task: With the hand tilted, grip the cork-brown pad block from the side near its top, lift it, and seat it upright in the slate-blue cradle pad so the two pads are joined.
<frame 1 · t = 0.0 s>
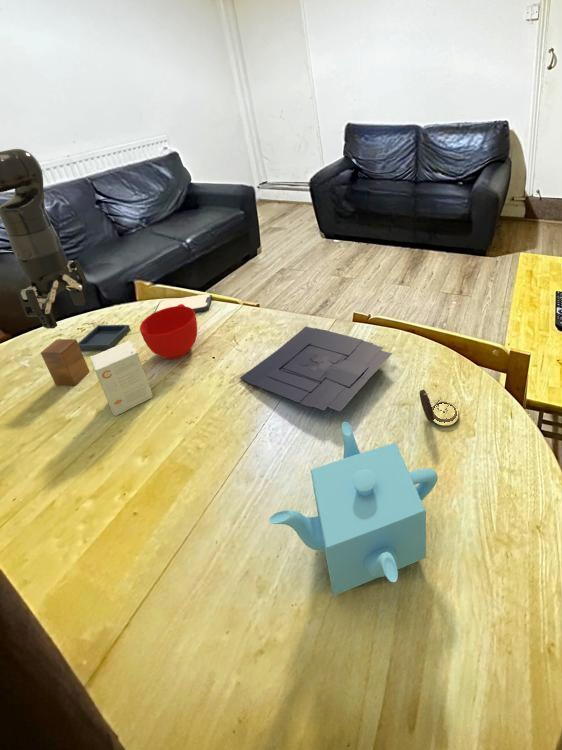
hand: (66, 315, 91), 20 cm above the table, tool pointing down, fingers open, 8 cm apart
ceramic cup: (179, 347, 112), on the table
cradle: (105, 340, 115), on the table
small box: (131, 400, 94), on the table
phone case: (184, 308, 129), on the table
teakettle: (363, 545, 64), on the table
compass: (438, 413, 88), on the table
pad block: (73, 378, 102), on the table
dark grey flat slab: (319, 371, 101), on the table
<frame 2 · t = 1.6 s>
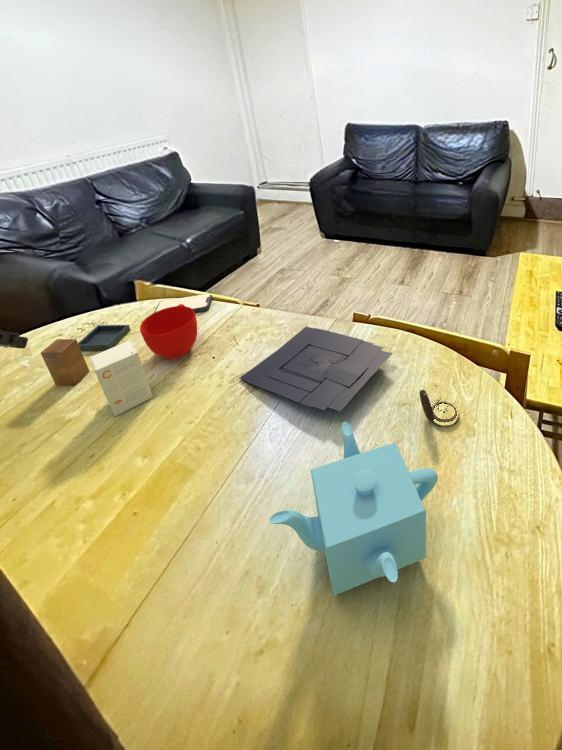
hand: (5, 343, 85), 19 cm above the table, tool tilted 45°, fingers open, 8 cm apart
nothing on the table moved.
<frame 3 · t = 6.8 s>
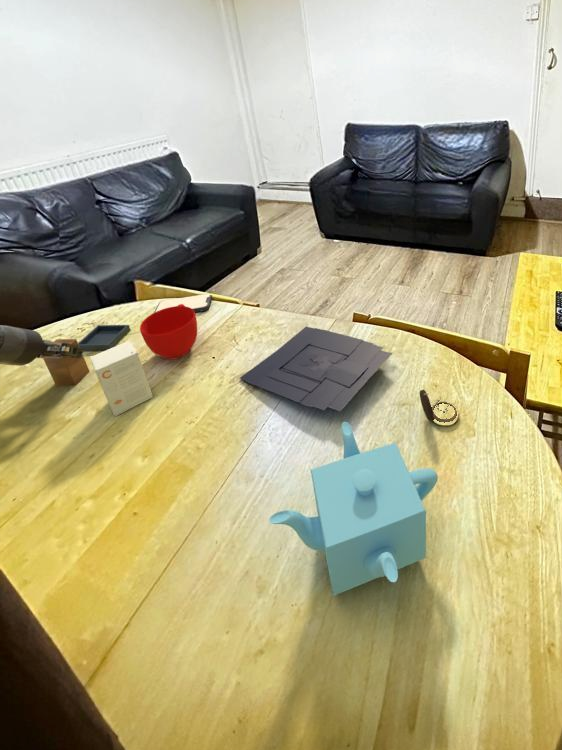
hand: (69, 353, 101), 6 cm above the table, tool tilted 45°, fingers closed on pad block, 5 cm apart
pad block: (73, 378, 102), on the table, touching gripper
everything else where it was.
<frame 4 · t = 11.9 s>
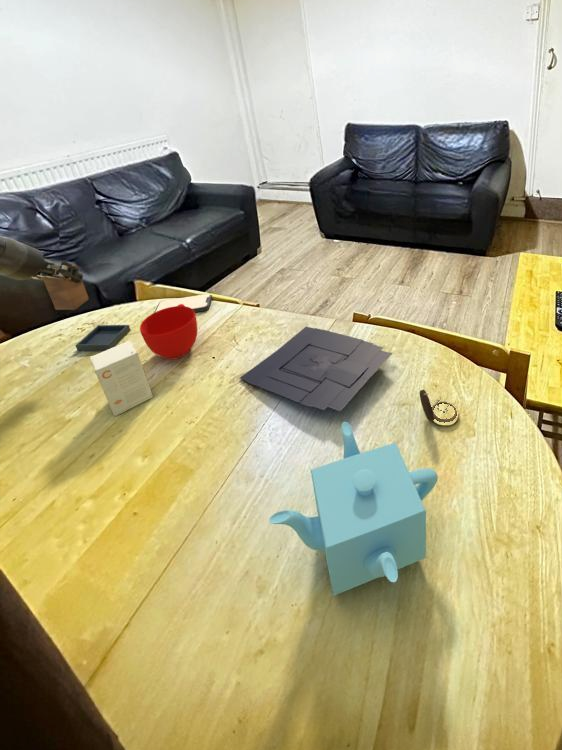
hand: (69, 279, 103), 22 cm above the table, tool tilted 45°, fingers closed on pad block, 5 cm apart
pad block: (72, 304, 104), point 16 cm above the table, touching gripper
everything else where it was.
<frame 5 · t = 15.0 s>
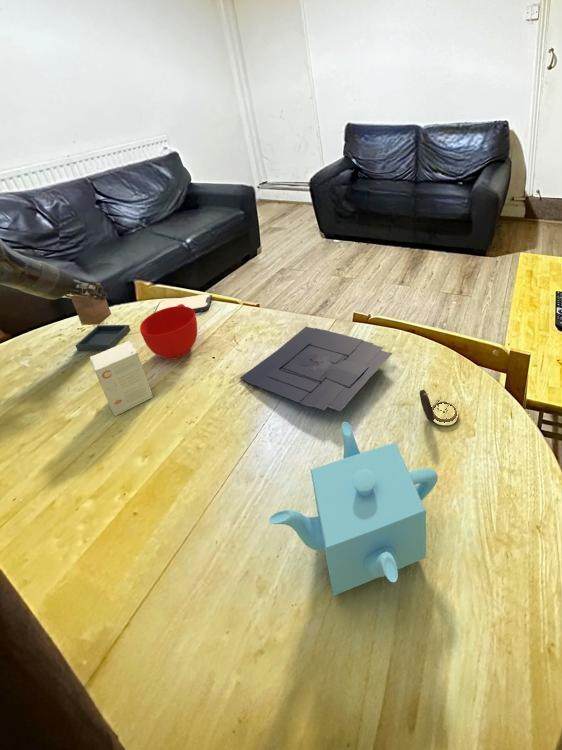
hand: (94, 296, 112), 13 cm above the table, tool tilted 45°, fingers closed on pad block, 5 cm apart
pad block: (96, 319, 113), point 7 cm above the table, touching gripper
everything else where it was.
when the fingers open (7 cm above the table, at t = 17.4 s): pad block stays where it is, resting on cradle.
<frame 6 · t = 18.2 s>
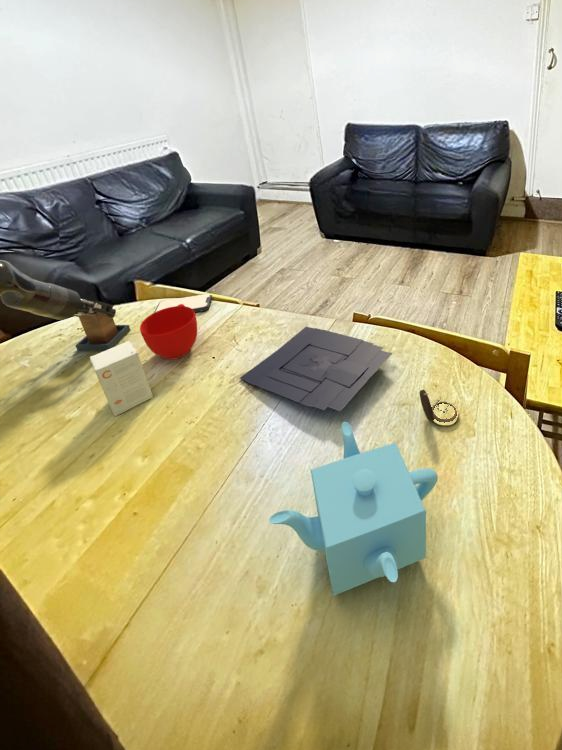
hand: (98, 313, 113), 8 cm above the table, tool tilted 45°, fingers open, 8 cm apart
pad block: (104, 339, 115), resting on cradle
everything else where it was.
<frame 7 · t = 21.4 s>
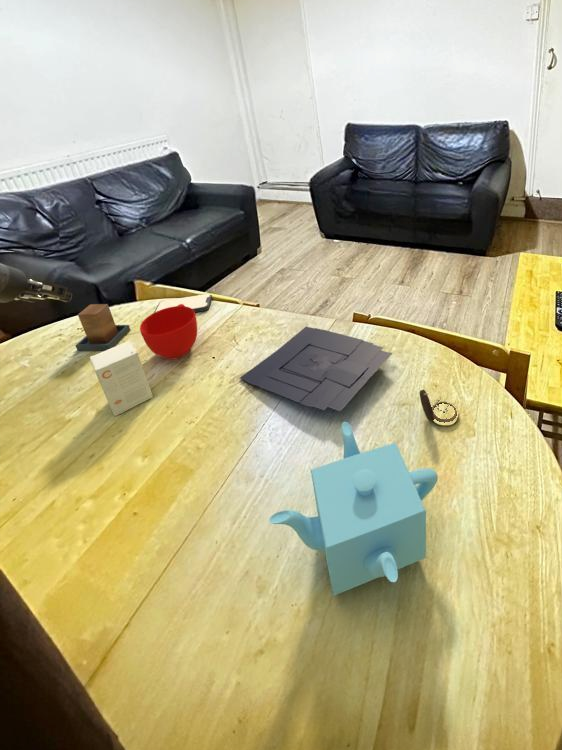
hand: (53, 298, 99), 20 cm above the table, tool tilted 45°, fingers open, 8 cm apart
nothing on the table moved.
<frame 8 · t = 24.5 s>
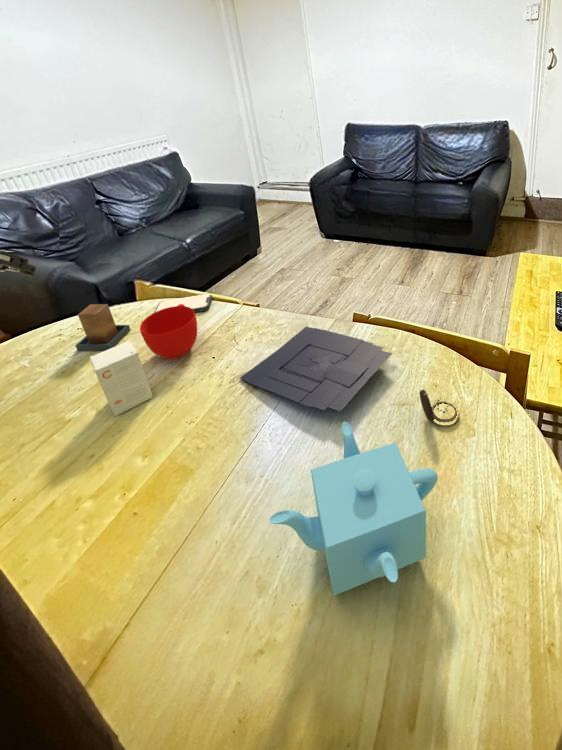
hand: (15, 272, 92), 29 cm above the table, tool tilted 45°, fingers open, 8 cm apart
nothing on the table moved.
at the end: pad block 0.1 cm off-centre in the cradle, point 0.4 cm above the cradle's base; pad block tilted 0°; the gripper is holding nothing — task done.
